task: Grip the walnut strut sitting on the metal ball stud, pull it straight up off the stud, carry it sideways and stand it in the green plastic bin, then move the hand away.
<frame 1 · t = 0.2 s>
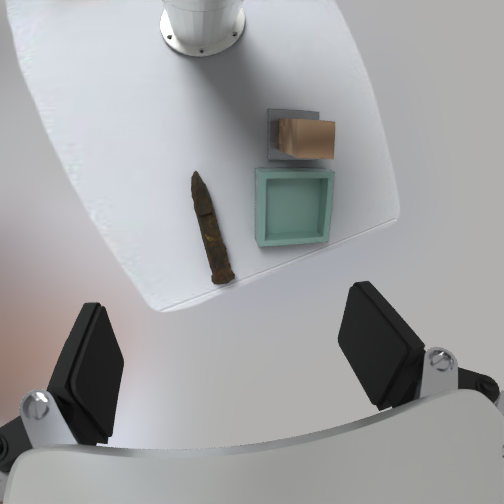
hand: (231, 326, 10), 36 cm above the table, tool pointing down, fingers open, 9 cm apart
stud base: (292, 134, 42), on the table
hand tool: (206, 225, 47), on the table
bin: (290, 203, 47), on the table
strut: (294, 134, 41), point 1 cm above the table, touching stud base
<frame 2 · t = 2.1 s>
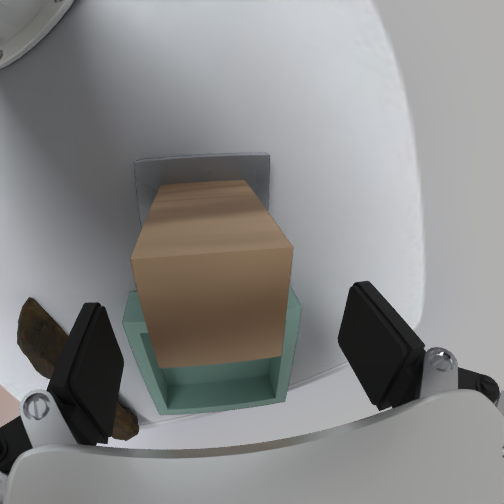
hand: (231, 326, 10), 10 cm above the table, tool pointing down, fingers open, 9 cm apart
stud base: (203, 215, 18), on the table
hand tool: (80, 367, 23), on the table
bin: (213, 342, 24), on the table
strut: (204, 221, 17), point 1 cm above the table, touching stud base
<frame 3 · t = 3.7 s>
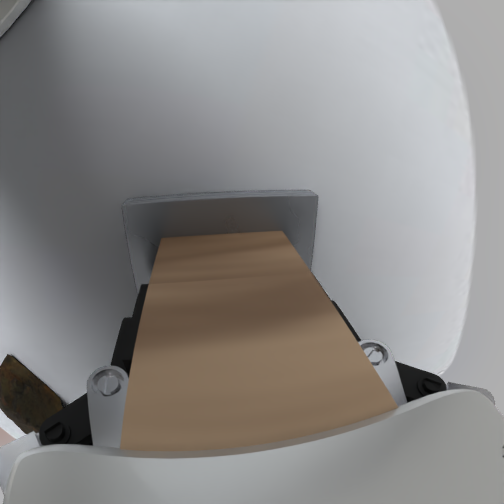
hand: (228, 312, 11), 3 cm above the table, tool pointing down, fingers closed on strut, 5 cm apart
stud base: (222, 274, 14), on the table
hand tool: (76, 421, 18), on the table
strut: (224, 286, 13), point 1 cm above the table, touching gripper, stud base
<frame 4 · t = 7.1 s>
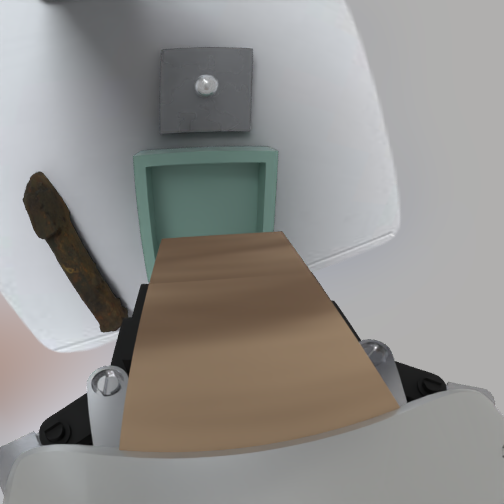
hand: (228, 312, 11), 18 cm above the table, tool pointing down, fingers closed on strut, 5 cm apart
stud base: (205, 89, 22), on the table
hand tool: (76, 248, 27), on the table
bin: (205, 207, 27), on the table
strut: (224, 286, 13), point 16 cm above the table, touching gripper
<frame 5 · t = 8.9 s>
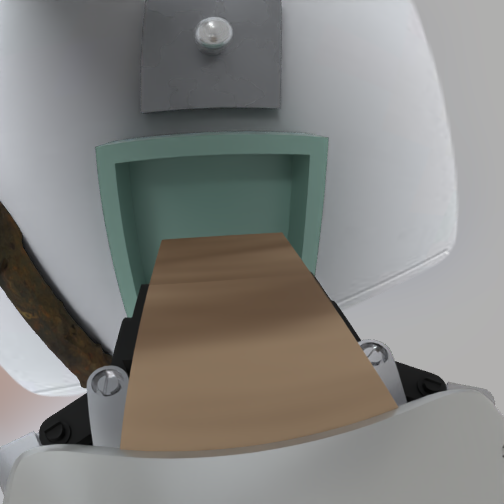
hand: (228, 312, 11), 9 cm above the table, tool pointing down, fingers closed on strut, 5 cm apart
stud base: (211, 47, 13), on the table
hand tool: (38, 281, 18), on the table
bin: (212, 224, 19), on the table
strut: (224, 287, 13), point 7 cm above the table, touching gripper
when the fingers open (4 cm above the table, at t = 10.5 s): strut drops 2 cm, resting on bin.
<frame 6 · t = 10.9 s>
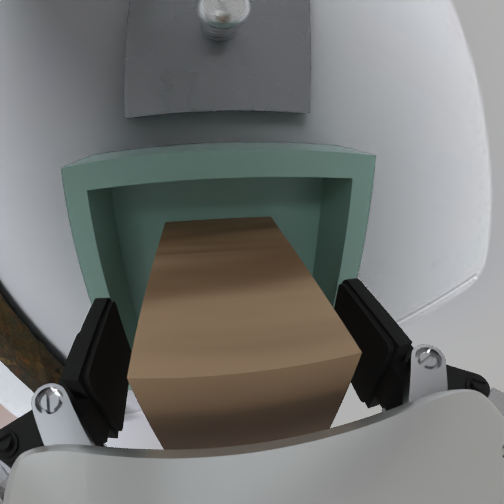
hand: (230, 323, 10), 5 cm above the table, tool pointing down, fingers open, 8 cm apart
stud base: (218, 32, 10), on the table
hand tool: (17, 319, 15), on the table
bin: (220, 260, 15), on the table
strut: (220, 265, 14), point 1 cm above the table, touching bin
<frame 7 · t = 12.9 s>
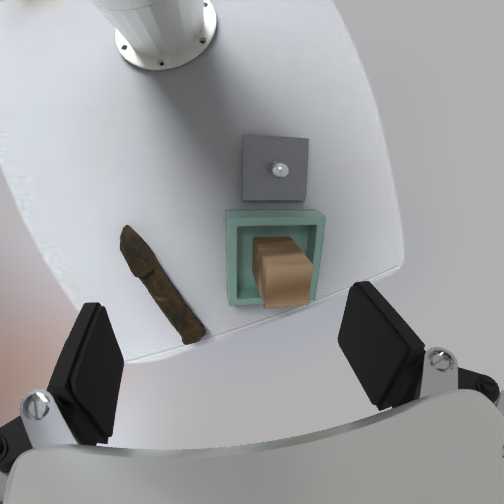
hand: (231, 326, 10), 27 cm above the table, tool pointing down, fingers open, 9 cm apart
stud base: (274, 167, 35), on the table
hand tool: (159, 281, 39), on the table
bin: (270, 252, 39), on the table
strut: (270, 254, 39), point 1 cm above the table, touching bin
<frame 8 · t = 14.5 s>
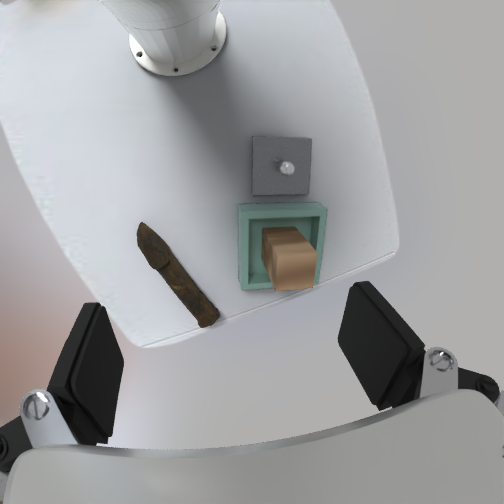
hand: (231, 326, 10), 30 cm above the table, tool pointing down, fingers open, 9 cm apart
stud base: (280, 165, 38), on the table
hand tool: (174, 271, 43), on the table
bin: (277, 240, 43), on the table
strut: (278, 242, 43), point 1 cm above the table, touching bin
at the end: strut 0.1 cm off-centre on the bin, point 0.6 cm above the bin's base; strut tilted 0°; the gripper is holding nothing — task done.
